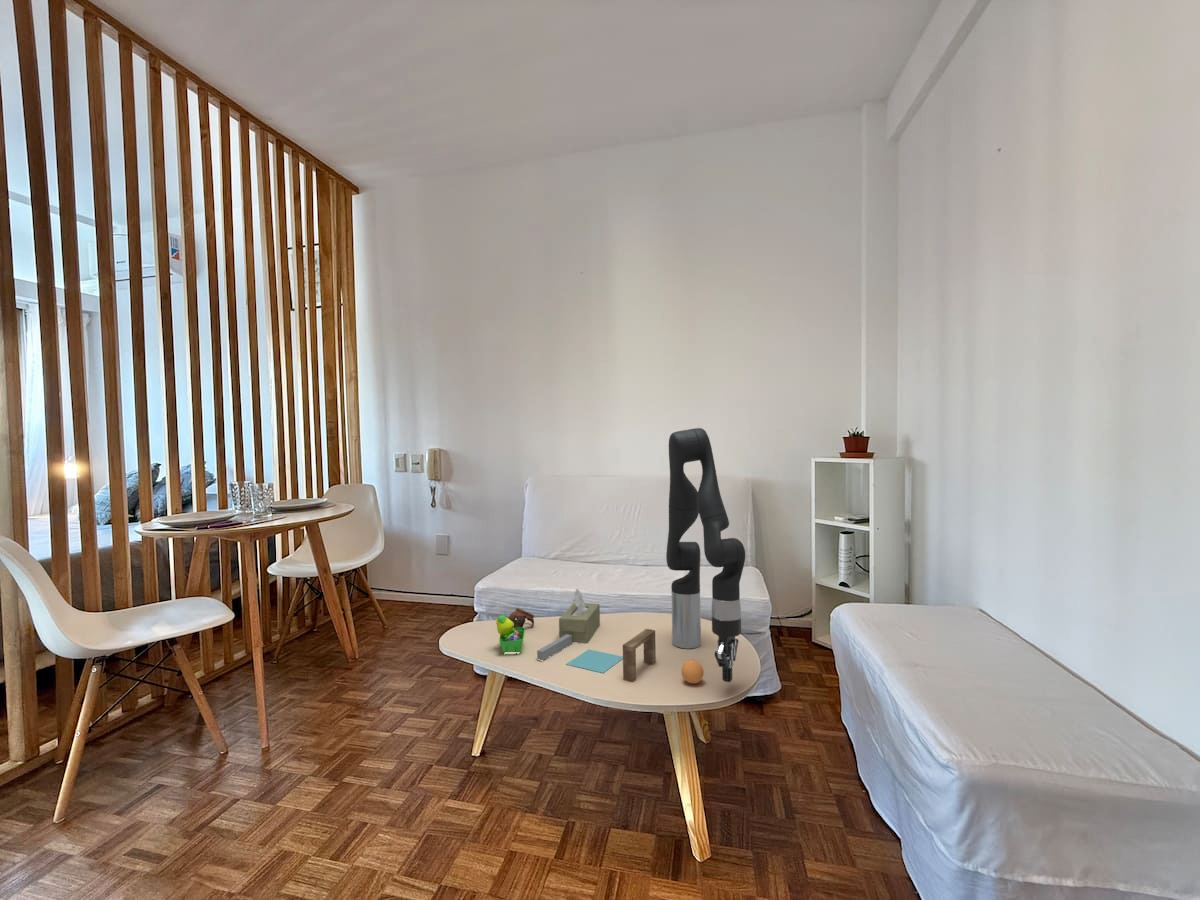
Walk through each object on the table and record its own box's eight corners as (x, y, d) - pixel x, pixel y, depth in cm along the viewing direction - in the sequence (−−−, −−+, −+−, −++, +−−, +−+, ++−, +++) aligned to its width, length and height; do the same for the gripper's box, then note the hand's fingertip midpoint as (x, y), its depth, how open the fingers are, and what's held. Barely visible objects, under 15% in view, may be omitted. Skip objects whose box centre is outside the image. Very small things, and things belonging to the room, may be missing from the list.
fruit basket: (523, 655, 168) (523, 619, 168) (495, 657, 167) (494, 621, 167) (525, 642, 179) (524, 608, 179) (498, 644, 178) (497, 610, 178)
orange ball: (686, 676, 151) (686, 654, 151) (706, 680, 148) (706, 658, 148) (678, 684, 146) (677, 662, 146) (699, 689, 143) (698, 666, 143)
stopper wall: (566, 643, 178) (566, 634, 178) (571, 644, 177) (571, 635, 177) (537, 660, 164) (537, 650, 164) (542, 661, 163) (542, 651, 163)
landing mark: (588, 649, 172) (588, 649, 172) (624, 657, 165) (624, 656, 165) (565, 664, 160) (565, 664, 160) (603, 673, 154) (603, 672, 154)
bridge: (623, 679, 149) (622, 645, 149) (646, 660, 162) (646, 628, 162) (632, 682, 148) (632, 647, 148) (655, 662, 161) (655, 630, 161)
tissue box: (574, 623, 197) (573, 581, 197) (600, 625, 195) (599, 582, 195) (559, 642, 179) (558, 595, 179) (587, 644, 177) (586, 596, 177)
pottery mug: (503, 627, 196) (513, 605, 199) (527, 637, 197) (536, 616, 199) (504, 629, 185) (515, 606, 187) (529, 640, 185) (539, 617, 188)
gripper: (720, 606, 149) (721, 668, 149) (703, 619, 138) (705, 687, 138) (747, 610, 145) (748, 674, 145) (732, 624, 134) (733, 693, 134)
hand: (727, 680), depth 141 cm, fingers closed
